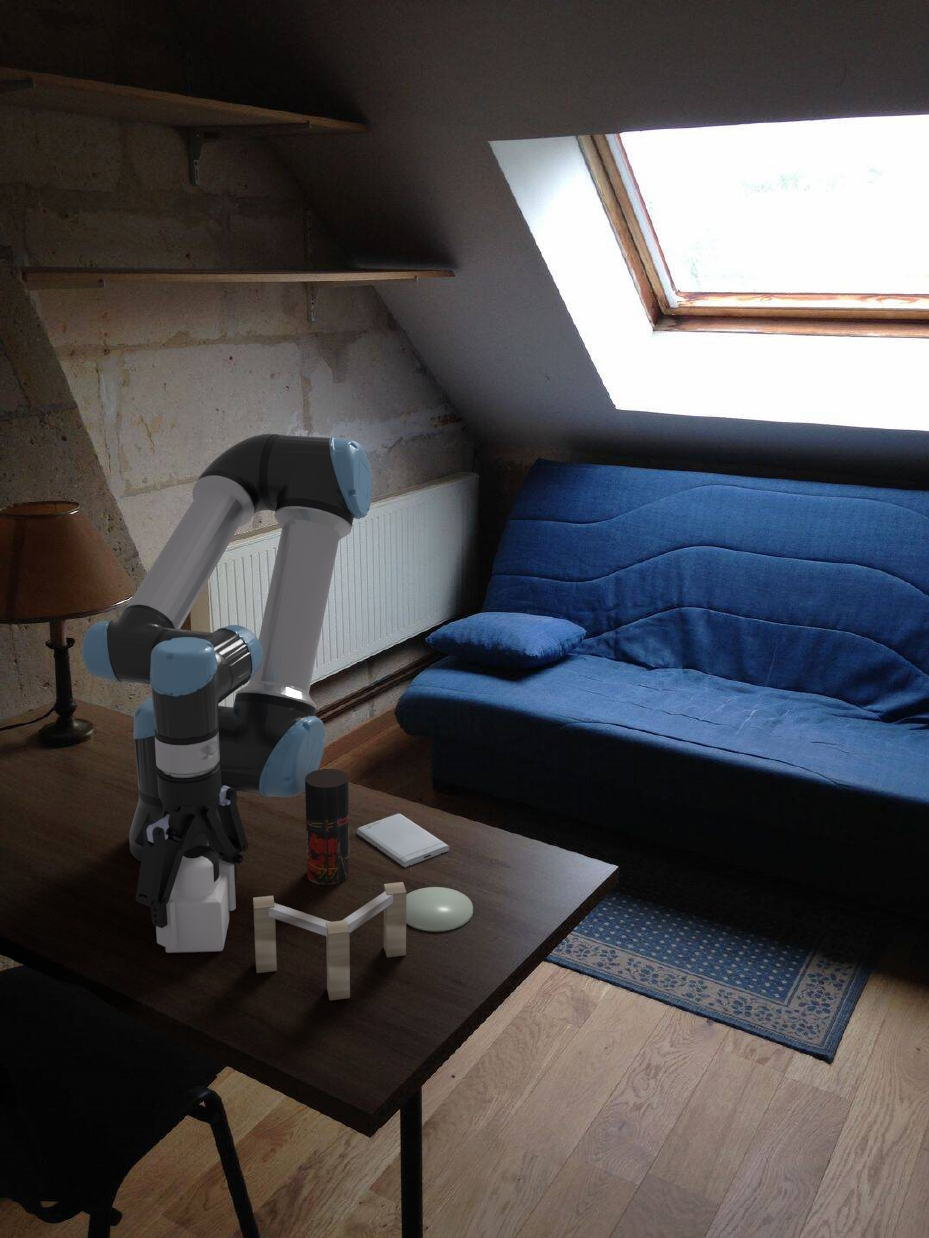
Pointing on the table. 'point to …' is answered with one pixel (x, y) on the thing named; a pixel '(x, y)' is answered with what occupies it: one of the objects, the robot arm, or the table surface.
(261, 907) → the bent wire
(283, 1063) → the table surface
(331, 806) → the deodorant
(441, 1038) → the table surface
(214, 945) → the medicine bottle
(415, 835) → the hard drive
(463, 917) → the pad
